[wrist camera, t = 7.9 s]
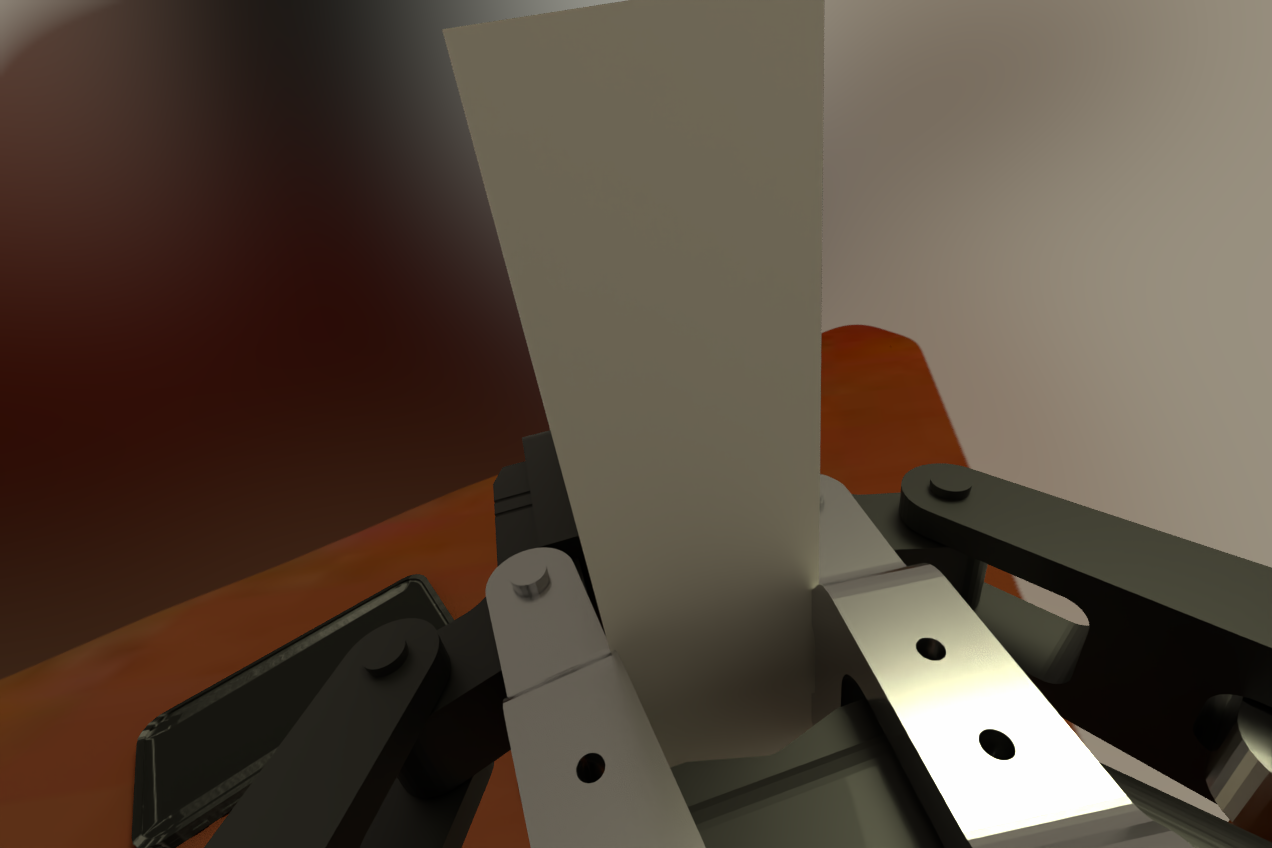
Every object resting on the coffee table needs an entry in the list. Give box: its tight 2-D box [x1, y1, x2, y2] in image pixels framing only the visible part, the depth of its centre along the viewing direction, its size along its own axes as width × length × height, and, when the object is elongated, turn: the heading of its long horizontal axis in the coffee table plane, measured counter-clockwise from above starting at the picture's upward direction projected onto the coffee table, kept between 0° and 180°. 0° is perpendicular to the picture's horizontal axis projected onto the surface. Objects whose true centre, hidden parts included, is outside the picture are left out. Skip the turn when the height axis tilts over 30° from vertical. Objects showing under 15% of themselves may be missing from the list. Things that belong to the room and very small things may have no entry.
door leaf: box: [442, 0, 824, 768], centre depth 10 cm, size 3×6×16 cm, turn 14°
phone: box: [132, 574, 454, 848], centre depth 30 cm, size 8×1×15 cm
